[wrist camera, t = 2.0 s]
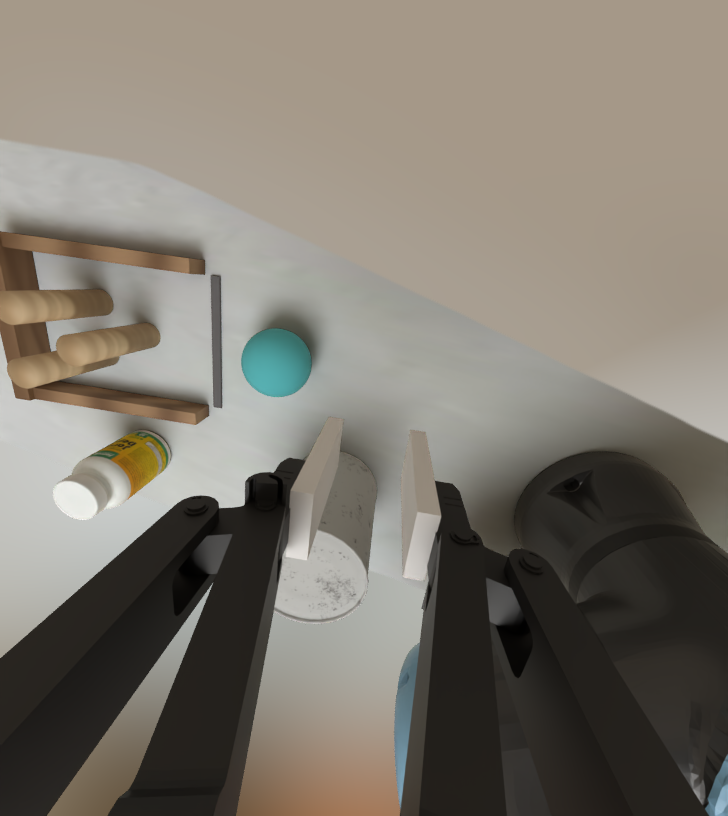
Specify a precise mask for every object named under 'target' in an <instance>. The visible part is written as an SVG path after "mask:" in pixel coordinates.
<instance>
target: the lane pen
mask: <svg viewBox="0 0 728 816" xmlns="http://www.w3.org/2000/svg"><path fill="white" fill-rule="evenodd" d="M32 251H35V252H42V253H49V254H56V255H63V256H70V257H77V258H84V259H91V260H97V261H104V262H111V263H118V264H125V265H132V266H139V267H146V268H153V269H160V270H167V271H174V272H181V273H188V274H204V275H205V260H198V259H191V258H184V257H177V256H170V255H163V254H156V253H149V252H142V251H135V250H128V249H121V248H114V247H107V246H100V245H93V244H86V243H79V242H72V241H65V240H58V239H51V238H44V237H37V236H30V235H23V234H16V233H8V232H1V231H0V291H24V290H39V287H38V282H37V276H36V271H35V266H34V260H33V255H32ZM0 333H1V337H2V342H3V346H4V350H5V354H6V359H7V363H9V362H10V361H11V360H13V359H17V358H22V357H27V356H32V355H37V354H42V353H48V352H51V351H50V346H49V341H48V335H47V330H46V325H45V322H37V323H27V324H18V325H10V324H7V323H5V322H3V321H2V320H1V319H0ZM12 384H13V389H14V393H15V397H16V398H18V399H24V400H33V399H39V400H45V401H51V402H57V403H64V404H70V405H76V406H82V407H88V408H94V409H100V410H107V411H113V412H119V413H125V414H131V415H137V416H144V417H150V418H156V419H162V420H168V421H174V422H180V423H187V424H193V425H196V424H198V423H199V422H201V421H202V420H204V419H205V418H206V417H208V416H209V405H204V404H197V403H191V402H185V401H179V400H172V399H166V398H160V397H154V396H147V395H141V394H135V393H129V392H122V391H116V390H110V389H104V388H97V387H91V386H85V385H79V384H72V383H66V382H60V381H54V382H51V383H47V384H44V385H40V386H37V387H33V388H29V389H26V388H22V387H20V386H18V385H16V384H15V383H14V382H13V381H12Z"/></svg>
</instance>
